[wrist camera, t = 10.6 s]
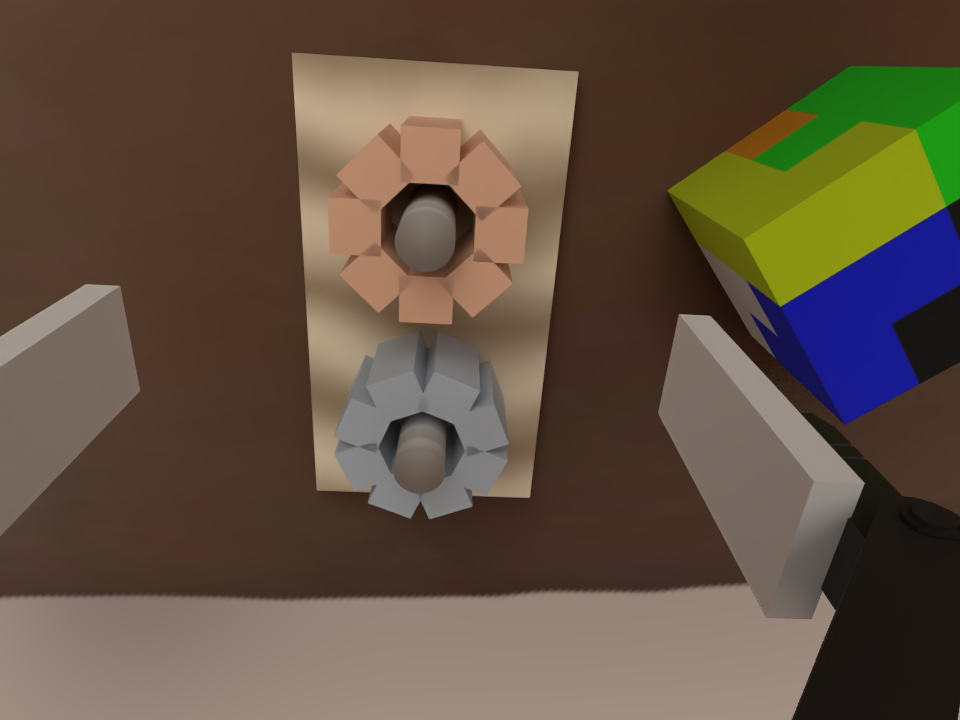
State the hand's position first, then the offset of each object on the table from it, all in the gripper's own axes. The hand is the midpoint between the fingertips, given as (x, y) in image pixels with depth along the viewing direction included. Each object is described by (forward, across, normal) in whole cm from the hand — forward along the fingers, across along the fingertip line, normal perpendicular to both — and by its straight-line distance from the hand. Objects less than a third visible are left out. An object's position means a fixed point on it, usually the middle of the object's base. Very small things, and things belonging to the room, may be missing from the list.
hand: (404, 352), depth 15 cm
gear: (+18, 0, -11) cm, 21 cm away
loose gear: (+18, 0, 0) cm, 18 cm away
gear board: (+19, 0, -6) cm, 20 cm away
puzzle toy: (+20, +19, 0) cm, 27 cm away
